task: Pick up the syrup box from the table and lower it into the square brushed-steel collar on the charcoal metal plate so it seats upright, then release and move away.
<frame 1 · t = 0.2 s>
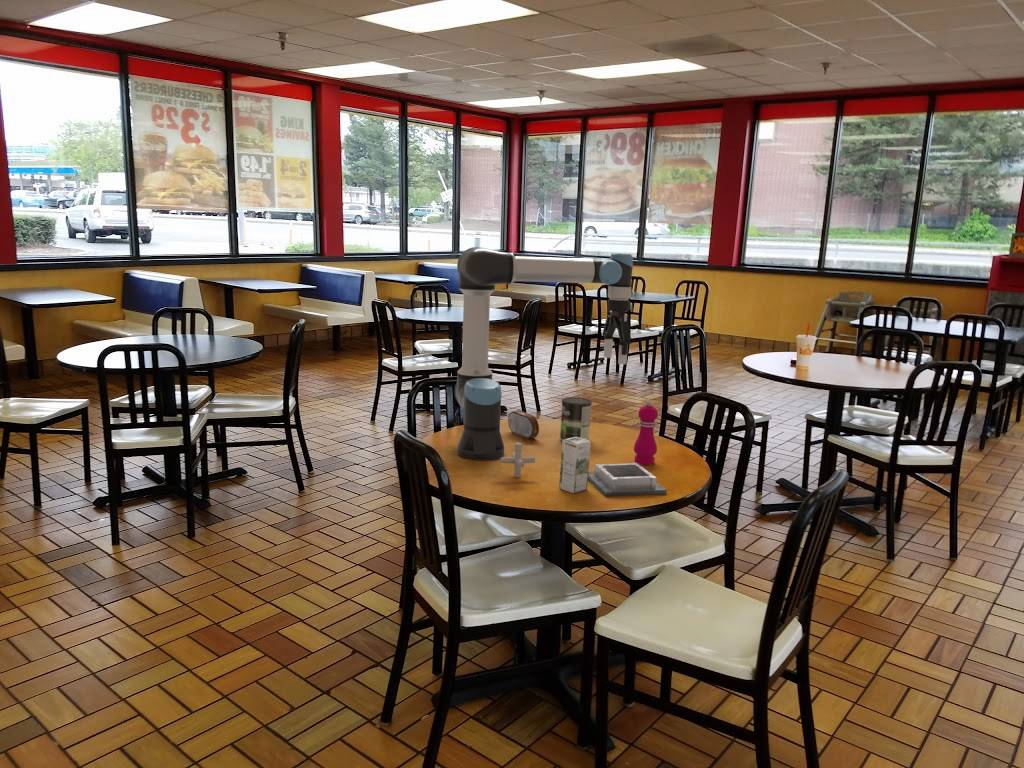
hand: (614, 360, 260), 28 cm above the table, tool pointing down, fingers open, 13 cm apart
tin: (522, 436, 265), on the table
syrup box: (573, 490, 211), on the table
pipe connector: (517, 477, 220), on the table
pepper mill: (644, 462, 239), on the table
coffee can: (574, 440, 263), on the table
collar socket: (624, 484, 217), on the table
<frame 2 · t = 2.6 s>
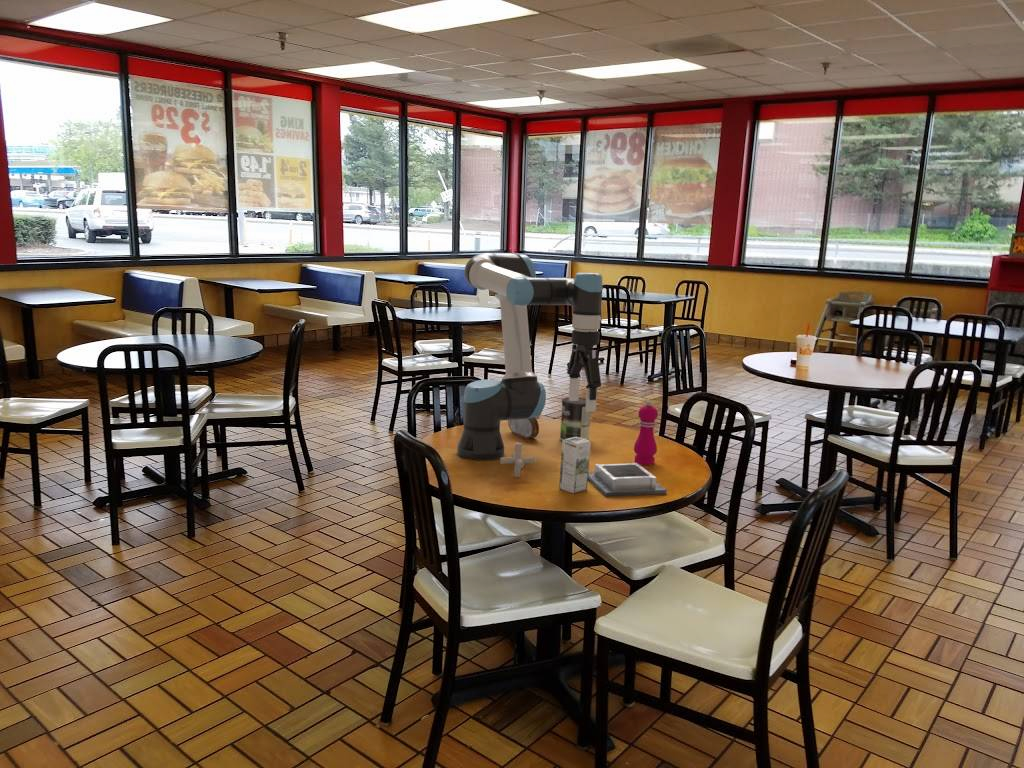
hand: (581, 405, 210), 23 cm above the table, tool pointing down, fingers open, 13 cm apart
nothing on the table moved.
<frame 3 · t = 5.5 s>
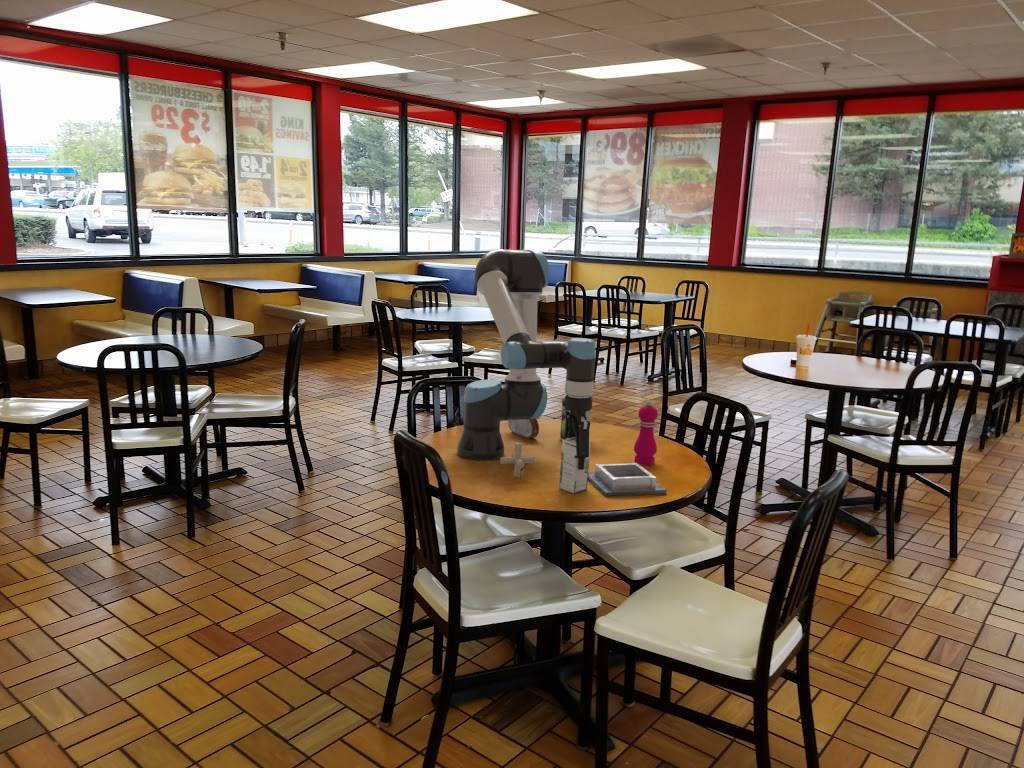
hand: (574, 475, 210), 4 cm above the table, tool pointing down, fingers closed on syrup box, 7 cm apart
syrup box: (573, 490, 211), on the table, touching gripper
everything else where it was.
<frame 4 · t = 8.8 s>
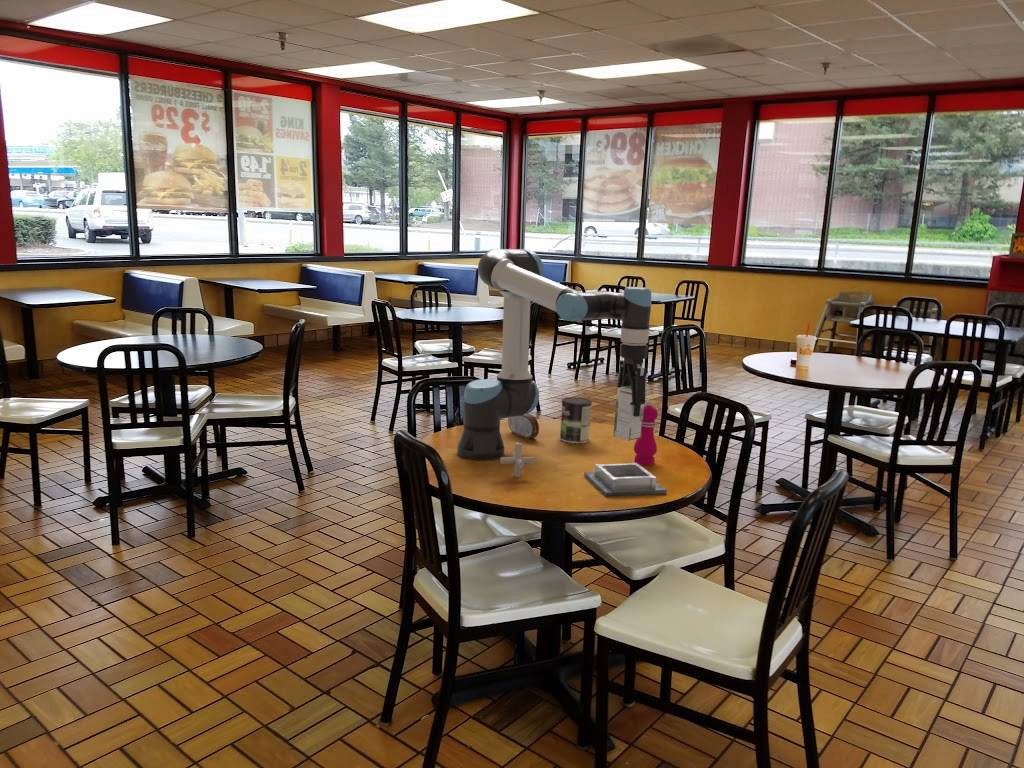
hand: (628, 423, 213), 18 cm above the table, tool pointing down, fingers closed on syrup box, 7 cm apart
syrup box: (627, 438, 214), point 14 cm above the table, touching gripper
everything else where it was.
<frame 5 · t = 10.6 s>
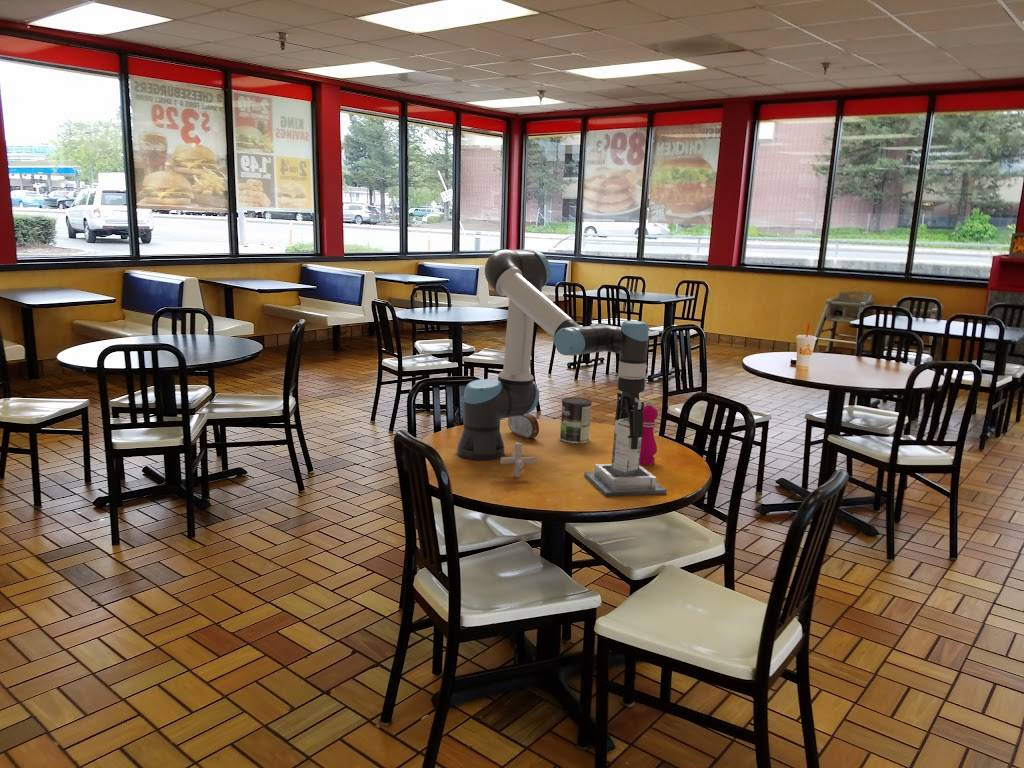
hand: (626, 455, 215), 9 cm above the table, tool pointing down, fingers closed on syrup box, 7 cm apart
syrup box: (625, 470, 216), point 4 cm above the table, touching gripper
everything else where it was.
when the fingers open (6 cm above the table, at t = 12.1 s): syrup box stays where it is, resting on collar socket.
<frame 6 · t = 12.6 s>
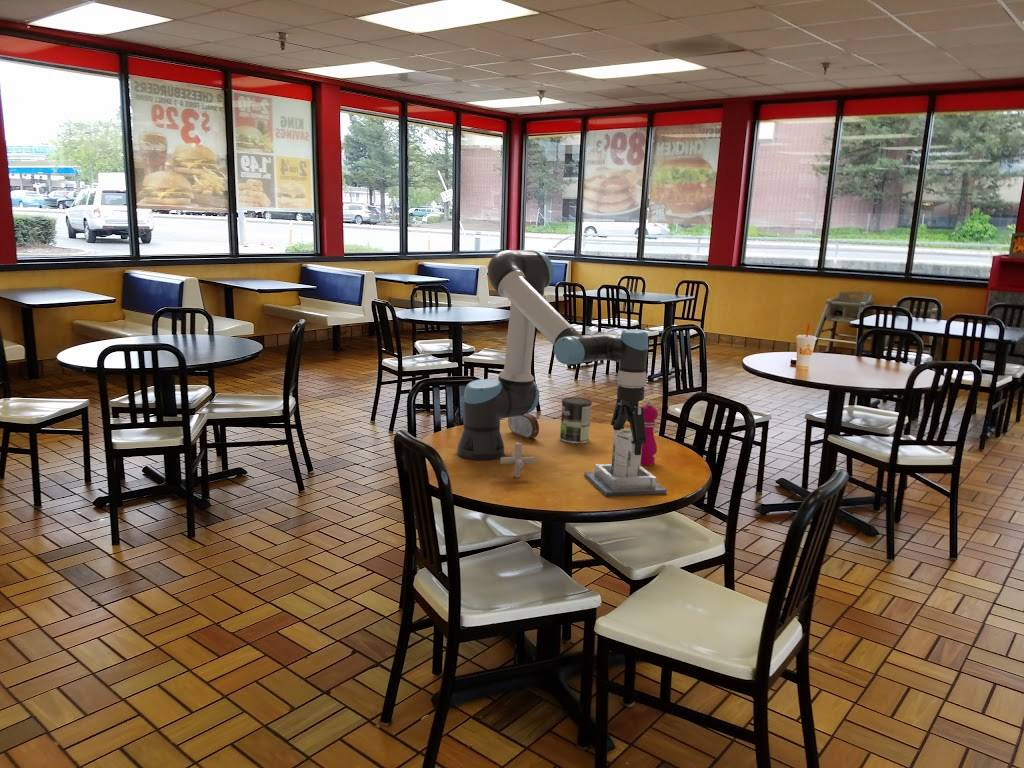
hand: (625, 458, 215), 8 cm above the table, tool pointing down, fingers open, 13 cm apart
syrup box: (624, 481, 216), point 1 cm above the table, touching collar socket
everything else where it was.
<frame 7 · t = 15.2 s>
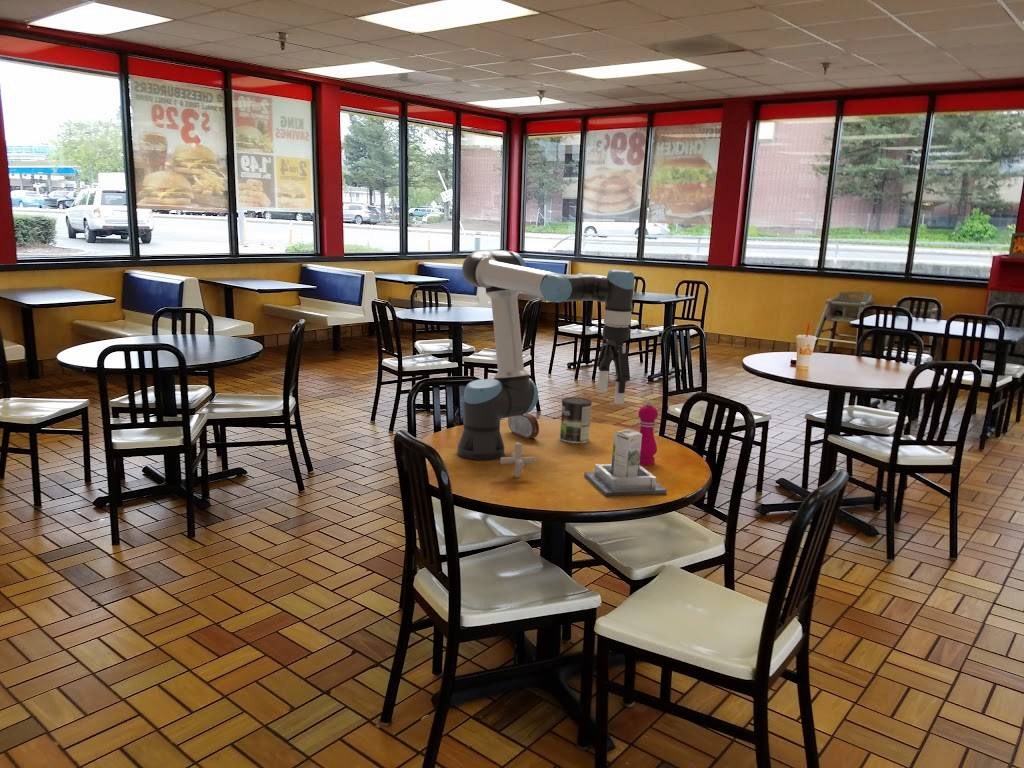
hand: (610, 398, 218), 24 cm above the table, tool pointing down, fingers open, 13 cm apart
nothing on the table moved.
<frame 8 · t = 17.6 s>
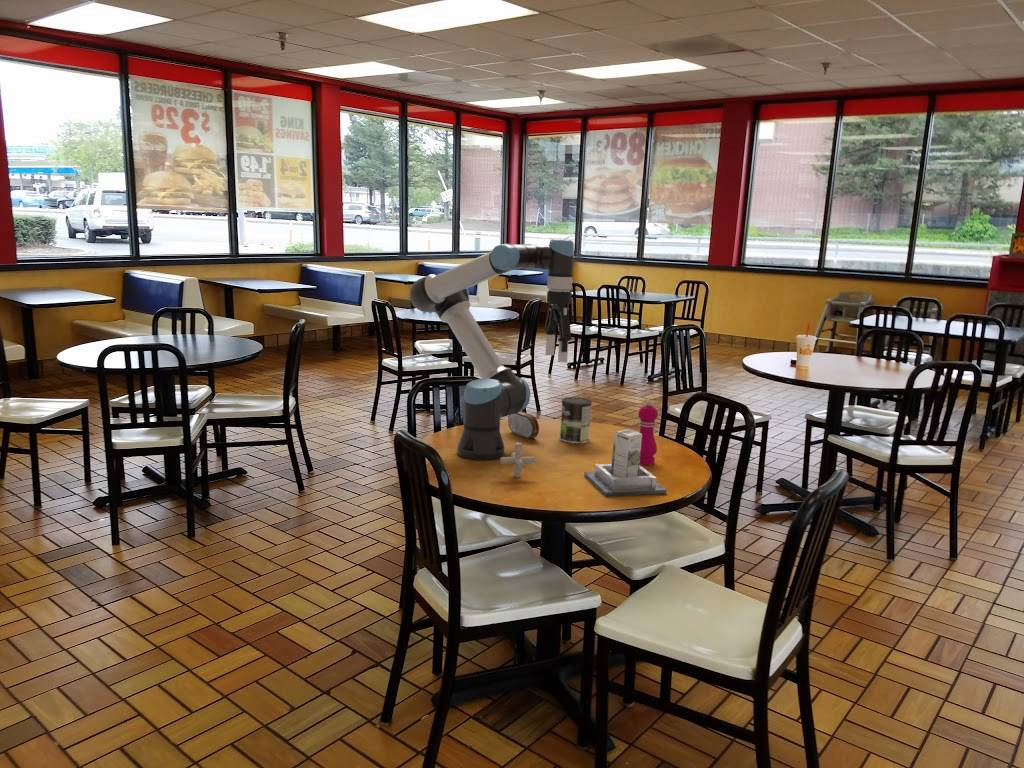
hand: (555, 358, 236), 32 cm above the table, tool pointing down, fingers open, 13 cm apart
nothing on the table moved.
at the end: syrup box 0.1 cm off-centre on the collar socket, point 1.0 cm above the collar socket's base; syrup box tilted 0°; the gripper is holding nothing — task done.
